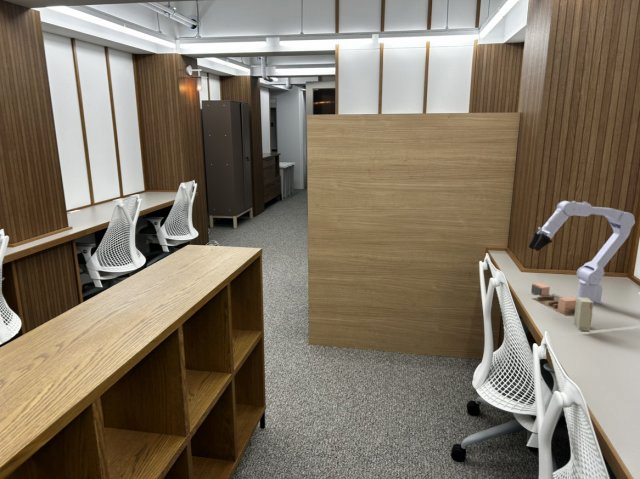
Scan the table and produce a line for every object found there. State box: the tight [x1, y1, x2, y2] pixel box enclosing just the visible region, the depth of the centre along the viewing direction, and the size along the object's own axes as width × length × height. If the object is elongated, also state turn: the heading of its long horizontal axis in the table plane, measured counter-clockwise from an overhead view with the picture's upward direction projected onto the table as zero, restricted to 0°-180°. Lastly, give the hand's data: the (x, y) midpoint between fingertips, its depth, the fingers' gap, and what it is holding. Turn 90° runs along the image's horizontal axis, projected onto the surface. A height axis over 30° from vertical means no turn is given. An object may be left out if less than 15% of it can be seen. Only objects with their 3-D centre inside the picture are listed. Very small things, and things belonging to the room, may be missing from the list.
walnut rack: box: [531, 293, 575, 317], centre depth 207 cm, size 13×22×2 cm, turn 14°
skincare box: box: [573, 296, 594, 333], centre depth 183 cm, size 6×4×12 cm
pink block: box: [558, 296, 577, 312], centre depth 202 cm, size 7×5×5 cm, turn 104°
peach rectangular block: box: [531, 282, 551, 296], centre depth 224 cm, size 5×7×5 cm, turn 14°
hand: (532, 248), depth 209 cm, fingers open, 7 cm apart
